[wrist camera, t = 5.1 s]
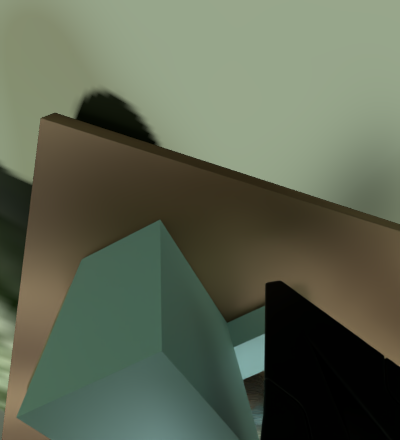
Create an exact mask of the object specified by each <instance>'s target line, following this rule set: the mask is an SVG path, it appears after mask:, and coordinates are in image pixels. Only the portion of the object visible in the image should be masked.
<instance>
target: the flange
mask: <svg viewBox="0 0 400 440" xmlns="http://www.w3.org/2000/svg"><path fill="white" fill-rule="evenodd" d="M264 345H265V306H263V307H261V308H259V309H256V310H254V311H252V312H250V313H248V314H245V315H243V316H241V317H239V318H237V319H234V320H232V321H230V322H228V323H227V322H226V321H225V319H224V317H223V316H222V314H221V313H220V311H219V310H218V308H217V307H216V305H215V304H214V302H213V300H212V299H211V297H210V296H209V294H208V293H207V291H206V290H205V288H204V287H203V285H202V283H201V282H200V280H199V279H198V277H197V276H196V274H195V273H194V271H193V270H192V268H191V266H190V265H189V263H188V262H187V260H186V259H185V257H184V256H183V254H182V253H181V251H180V249H179V248H178V246H177V245H176V243H175V242H174V240H173V239H172V237H171V236H170V234H169V232H168V231H167V229H166V228H165V226H164V225H163V223H162V222H161V220H158V221H156V222H154V223H152V224H150V225H148V226H146V227H144V228H142V229H140V230H138V231H136V232H135V233H133V234H131V235H129V236H127V237H125V238H123V239H121V240H119V241H117V242H115V243H113V244H111V245H109V246H107V247H105V248H103V249H101V250H99V251H97V252H95V253H93V254H91V255H89V256H87V257H85V258H83V259H82V260H81V262H80V264H79V267H78V269H77V272H76V274H75V276H74V279H73V281H72V284H71V286H70V289H69V291H68V293H67V296H66V298H65V301H64V303H63V305H62V308H61V310H60V313H59V315H58V318H57V320H56V322H55V325H54V327H53V330H52V332H51V334H50V337H49V339H48V342H47V344H46V347H45V349H44V351H43V354H42V356H41V359H40V361H39V364H38V366H37V368H36V371H35V373H34V376H33V378H32V380H31V383H30V385H29V388H28V390H27V393H26V395H25V397H24V400H23V402H22V405H21V407H20V409H19V412H18V414H17V417H16V418H18V419H19V420H21V421H22V422H24V423H26V424H27V425H29V426H30V427H32V428H33V429H35V430H37V431H38V432H40V433H41V434H43V435H45V436H46V437H48V438H49V439H51V440H259V437H258V433H257V430H256V426H255V422H254V419H253V415H252V411H251V408H250V404H249V401H248V397H247V393H246V390H245V386H244V383H243V379H246V378H248V377H250V376H253V375H255V374H257V373H260V372H262V371H264Z"/></svg>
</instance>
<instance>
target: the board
mask: <svg viewBox="0 0 400 440" xmlns="http://www.w3.org/2000/svg"><path fill="white" fill-rule="evenodd" d="M158 220H161V222H162V223H163V225H164V226H165V228H166V229H167V231H168V232H169V234H170V236H171V237H172V239H173V240H174V242H175V243H176V245H177V246H178V248H179V249H180V251H181V253H182V254H183V256H184V257H185V259H186V260H187V262H188V263H189V265H190V266H191V268H192V270H193V271H194V273H195V274H196V276H197V277H198V279H199V280H200V282H201V283H202V285H203V287H204V288H205V290H206V291H207V293H208V294H209V296H210V297H211V299H212V300H213V302H214V304H215V305H216V307H217V308H218V310H219V311H220V313H221V314H222V316H223V317H224V319H225V321H226V322H227V323H228V322H230V321H232V320H234V319H237V318H239V317H241V316H243V315H245V314H248V313H250V312H252V311H254V310H256V309H259V308H261V307H263V306H265V284H266V283H267V282H272V281H278V280H280V281H283V282H284V283H285V284H287V285H288V286H290V287H291V288H292V289H294V290H295V291H296V292H298V293H299V294H301V295H302V296H303V297H305V298H306V299H307V300H309V301H310V302H311V303H313V304H314V305H316V306H317V307H318V308H320V309H321V310H322V311H324V312H325V313H327V314H328V315H329V316H331V317H332V318H333V319H335V320H336V321H338V322H339V323H340V324H342V325H343V326H344V327H346V328H347V329H349V330H350V331H351V332H353V333H354V334H355V335H357V336H358V337H360V338H361V339H362V340H364V341H365V342H366V343H368V344H369V345H371V346H372V347H373V348H375V349H376V350H377V351H379V352H380V353H382V354H383V355H384V357H385V358H389V359H390V360H391V361H393V362H394V363H395V364H397V365H398V366H400V224H397V223H394V222H391V221H388V220H385V219H382V218H378V217H376V216H372V215H369V214H366V213H363V212H360V211H357V210H354V209H351V208H348V207H344V206H341V205H338V204H335V203H332V202H329V201H326V200H323V199H320V198H317V197H314V196H311V195H308V194H305V193H301V192H298V191H295V190H292V189H289V188H286V187H283V186H280V185H276V184H274V183H271V182H267V181H264V180H261V179H258V178H255V177H252V176H249V175H246V174H243V173H240V172H237V171H233V170H230V169H227V168H224V167H221V166H218V165H215V164H212V163H209V162H206V161H202V160H200V159H196V158H193V157H190V156H187V155H184V154H181V153H178V152H175V151H172V150H168V149H165V148H162V147H159V146H156V145H153V144H150V143H147V142H144V141H141V140H138V139H135V138H132V137H128V136H125V135H122V134H119V133H116V132H113V131H110V130H107V129H104V128H101V127H98V126H94V125H91V124H88V123H85V122H82V121H79V120H76V119H73V118H70V117H67V116H64V115H61V114H57V113H53V114H50V115H48V116H45V117H42V118H41V120H40V127H39V136H38V144H37V153H36V160H35V169H34V177H33V185H32V193H31V202H30V210H29V218H28V227H27V235H26V243H25V251H24V260H23V268H22V276H21V284H20V293H19V301H18V309H17V317H16V326H15V334H14V342H13V350H12V359H11V367H10V375H9V384H8V392H7V400H6V408H5V417H4V425H3V433H2V440H51V439H49V438H48V437H46V436H45V435H43V434H41V433H40V432H38V431H37V430H35V429H33V428H32V427H30V426H29V425H27V424H26V423H24V422H22V421H21V420H19V419H18V418H16V417H17V414H18V412H19V409H20V407H21V405H22V402H23V400H24V397H25V395H26V393H27V385H28V383H29V380H30V378H31V375H32V373H33V371H34V368H35V366H36V363H37V361H38V359H39V356H40V354H41V352H42V349H43V347H44V344H45V342H46V340H47V337H48V335H49V333H50V330H51V328H52V325H53V323H54V321H55V318H56V316H57V314H58V311H59V309H60V306H61V304H62V302H63V299H64V297H65V295H66V292H67V290H68V288H69V287H70V286H71V284H72V281H73V279H74V276H75V274H76V272H77V269H78V267H79V264H80V262H81V260H82V259H83V258H85V257H87V256H89V255H91V254H93V253H95V252H97V251H99V250H101V249H103V248H105V247H107V246H109V245H111V244H113V243H115V242H117V241H119V240H121V239H123V238H125V237H127V236H129V235H131V234H133V233H135V232H136V231H138V230H140V229H142V228H144V227H146V226H148V225H150V224H152V223H154V222H156V221H158ZM259 374H260V375H261V376H262V377H263V378H264V371H262V372H260V373H259Z"/></svg>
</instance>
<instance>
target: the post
mask: <svg viewBox="0 0 400 440" xmlns="http://www.w3.org/2000/svg"><path fill="white" fill-rule="evenodd" d="M243 383H244V386H245V390H246V393H247V397H248V401H249V404H250V408H251V411H252V415H253V419H254V422H255V426H256V430H257V433H258V437H259V440H260V436H261V427H262V419H263V401H264V378H263V377H262V376H261V375H260V374H259V373H257V374H255V375H253V376H250V377H248V378H246V379H243Z"/></svg>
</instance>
